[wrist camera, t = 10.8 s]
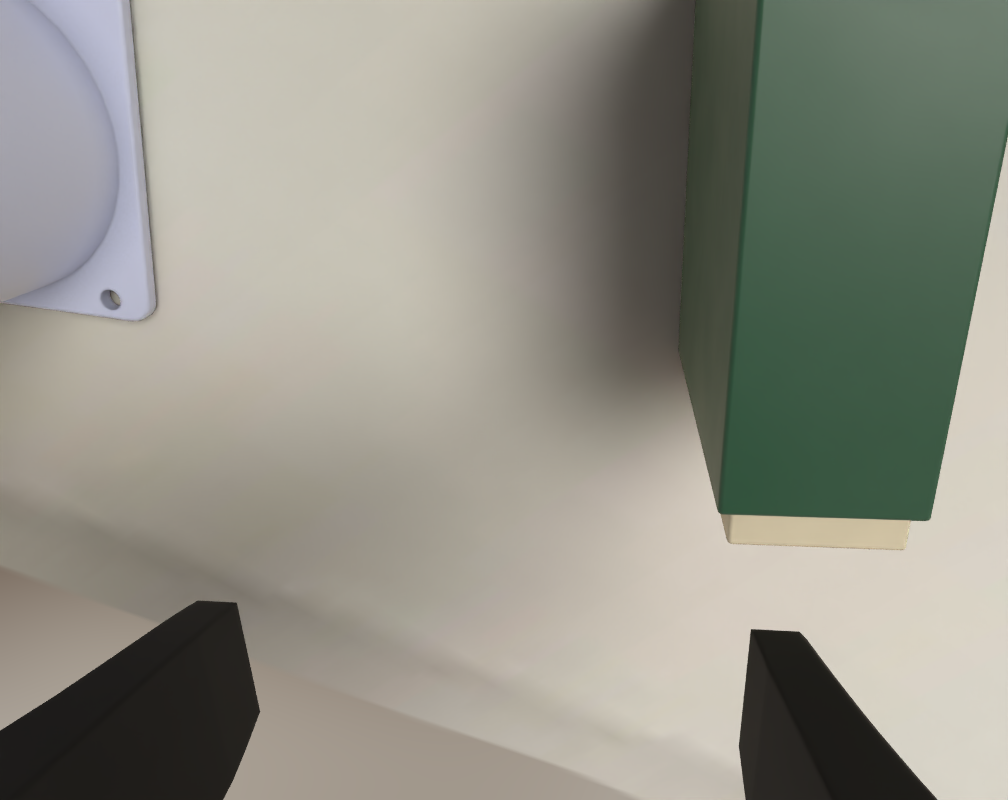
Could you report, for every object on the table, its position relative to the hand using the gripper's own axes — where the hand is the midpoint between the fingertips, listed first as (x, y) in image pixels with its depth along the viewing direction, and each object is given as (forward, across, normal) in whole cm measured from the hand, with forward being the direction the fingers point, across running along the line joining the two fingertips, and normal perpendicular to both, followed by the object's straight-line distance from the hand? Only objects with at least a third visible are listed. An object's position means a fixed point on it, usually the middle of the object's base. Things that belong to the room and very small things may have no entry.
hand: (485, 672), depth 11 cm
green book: (+9, -5, -5) cm, 12 cm away
